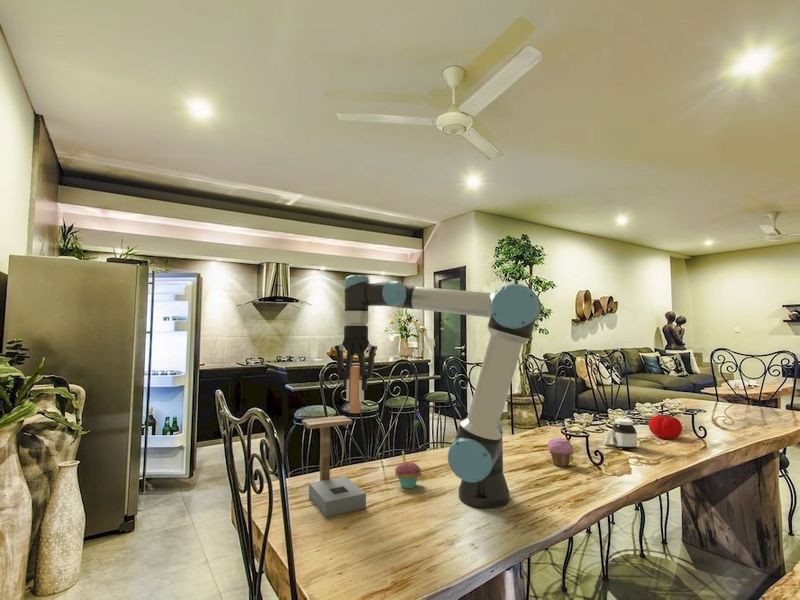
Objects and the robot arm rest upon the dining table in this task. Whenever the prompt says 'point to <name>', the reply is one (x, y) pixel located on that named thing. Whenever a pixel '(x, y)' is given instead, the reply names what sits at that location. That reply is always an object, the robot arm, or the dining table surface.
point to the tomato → (665, 426)
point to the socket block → (337, 496)
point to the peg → (355, 389)
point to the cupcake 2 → (560, 451)
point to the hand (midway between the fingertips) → (355, 400)
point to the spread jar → (623, 434)
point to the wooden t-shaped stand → (325, 439)
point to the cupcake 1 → (407, 473)
